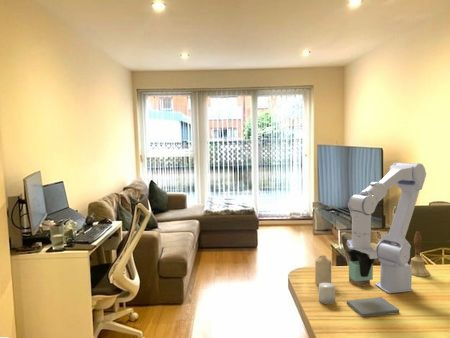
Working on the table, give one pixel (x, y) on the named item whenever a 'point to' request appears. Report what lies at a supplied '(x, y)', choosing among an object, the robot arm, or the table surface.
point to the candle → (322, 270)
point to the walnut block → (359, 282)
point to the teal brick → (358, 272)
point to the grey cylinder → (327, 293)
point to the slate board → (372, 307)
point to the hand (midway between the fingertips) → (360, 273)
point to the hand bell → (418, 259)
